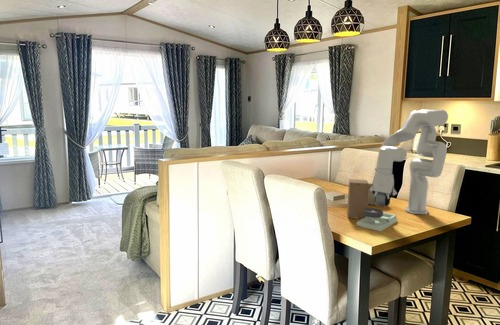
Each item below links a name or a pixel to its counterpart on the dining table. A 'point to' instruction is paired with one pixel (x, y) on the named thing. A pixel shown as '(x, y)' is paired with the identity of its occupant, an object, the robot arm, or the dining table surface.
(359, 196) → the wooden block
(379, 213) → the faceted grey bowl
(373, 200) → the planter bowl
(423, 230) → the dining table surface
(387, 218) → the chassis
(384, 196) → the block
